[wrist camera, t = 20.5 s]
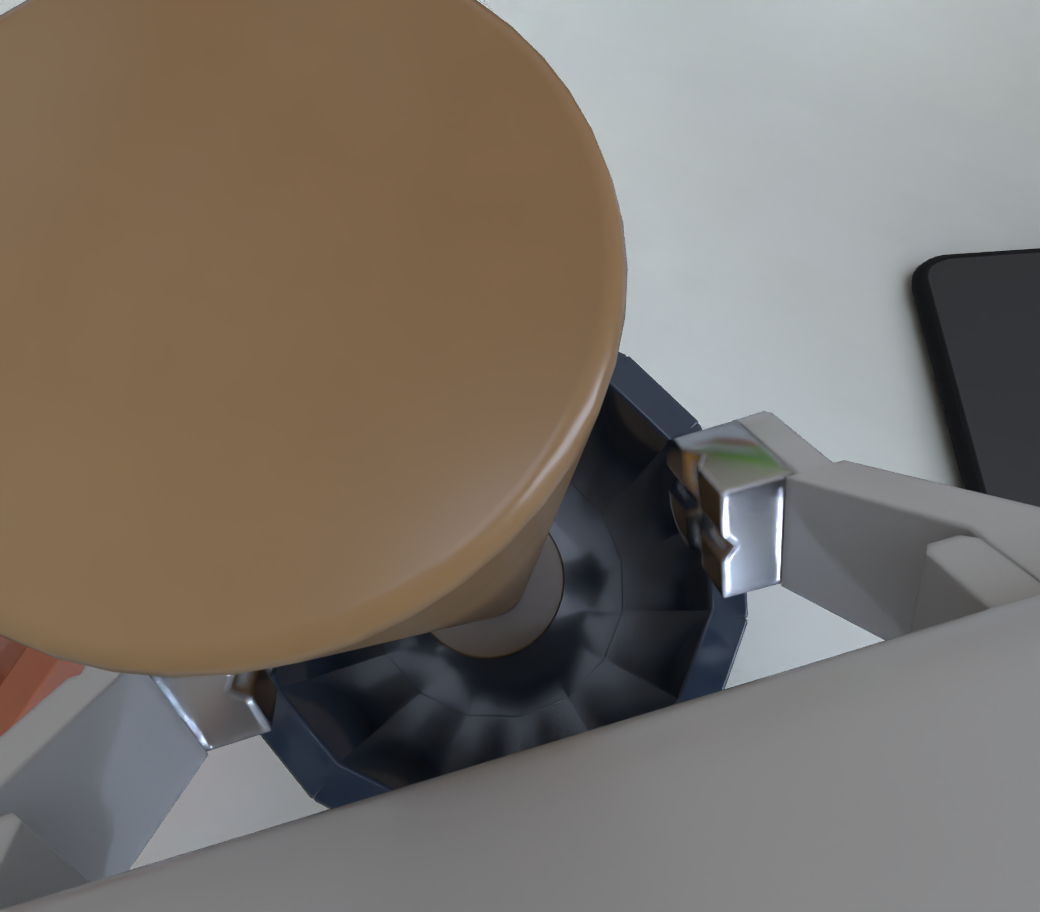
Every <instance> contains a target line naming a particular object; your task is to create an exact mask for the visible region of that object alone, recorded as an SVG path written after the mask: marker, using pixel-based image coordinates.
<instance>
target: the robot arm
mask: <svg viewBox="0 0 1040 912" xmlns="http://www.w3.org/2000/svg"><path fill="white" fill-rule="evenodd" d="M666 459H667V465H668V467H669V468H670V469H671V471H672V472H673V473H674V475H675V476H676V478H675V479H674V481H673V483H672V485H671V486H670V488H669V496H670V505H671V510H672V513H673V517H674V521H675V524H676V526H677V528H678V531H679V533H680V535H681V537H682V538H683V540H684V541H685V543H686V544H687V546H688V547H689V548H691V549H693V550H696V551H698V552H700V553H701V558H702V568H703V569H704V571H705V572H706V574H707V575H708V577H709V578H710V580H711V581H712V582H713V584H714V585H715V587H716V588H717V590H718V591H719V592H720V594H721V595H722V597H723V598H726V597H730V596H734V595H738V594H742V593H745V592H749V591H753V590H757V589H761V588H764V587H768V586H772V585H776V584H780V583H782V586H783V587H785V588H787V589H789V590H790V591H792V592H794V593H796V594H798V595H800V596H802V597H804V598H806V599H808V600H810V601H811V602H813V603H815V604H817V605H819V606H821V607H823V608H825V609H827V610H829V611H830V612H832V613H834V614H836V615H838V616H840V617H842V618H844V619H846V620H848V621H849V622H851V623H853V624H855V625H857V626H859V627H861V628H863V629H865V630H867V631H869V632H870V633H872V634H874V635H876V636H878V637H880V638H882V639H884V640H886V641H882V642H879V643H876V644H873V645H869V646H866V647H863V648H860V649H856V650H853V651H850V652H846V653H843V654H840V655H837V656H833V657H830V658H827V659H824V660H820V661H817V662H814V663H810V664H807V665H804V666H800V667H797V668H794V669H790V670H787V671H784V672H781V673H777V674H774V675H771V676H767V677H764V678H761V679H757V680H754V681H751V682H747V683H744V684H741V685H738V686H734V687H731V688H728V689H724V690H721V691H718V692H714V693H711V694H708V695H704V696H701V697H698V698H695V699H691V700H688V701H685V702H681V703H678V704H675V705H671V706H668V707H665V708H661V709H658V710H655V711H652V712H648V713H645V714H642V715H638V716H635V717H632V718H628V719H625V720H622V721H618V722H615V723H612V724H609V725H605V726H602V727H599V728H595V729H592V730H589V731H586V732H582V733H579V734H576V735H572V736H569V737H566V738H563V739H559V740H556V741H553V742H549V743H546V744H543V745H540V746H536V747H533V748H530V749H526V750H523V751H520V752H517V753H513V754H510V755H507V756H503V757H500V758H497V759H494V760H490V761H487V762H484V763H481V764H477V765H474V766H471V767H467V768H464V769H461V770H458V771H454V772H451V773H448V774H444V775H441V776H438V777H435V778H431V779H428V780H425V781H421V782H418V783H415V784H412V785H408V786H405V787H402V788H398V789H395V790H392V791H389V792H385V793H382V794H379V795H375V796H372V797H369V798H366V799H362V800H359V801H356V802H352V803H349V804H346V805H343V806H339V807H336V808H333V809H329V810H326V811H323V812H320V813H316V814H313V815H310V816H306V817H303V818H300V819H297V820H293V821H290V822H287V823H283V824H280V825H277V826H274V827H270V828H267V829H264V830H260V831H257V832H254V833H251V834H247V835H244V836H241V837H237V838H234V839H231V840H228V841H224V842H221V843H218V844H214V845H211V846H208V847H204V848H201V849H198V850H195V851H191V852H188V853H185V854H181V855H178V856H175V857H172V858H168V859H165V860H162V861H158V862H155V863H152V864H149V865H145V866H142V867H139V868H135V869H132V870H129V869H130V868H131V866H132V865H133V863H134V862H135V860H136V859H137V857H138V856H139V855H140V853H141V852H142V850H143V849H144V847H145V846H146V844H147V843H148V841H149V840H150V839H151V837H152V836H153V834H154V833H155V831H156V830H157V828H158V827H159V825H160V824H161V822H162V821H163V820H164V818H165V817H166V815H167V814H168V812H169V811H170V809H171V808H172V806H173V805H174V804H175V802H176V801H177V799H178V798H179V796H180V795H181V793H182V792H183V790H184V789H185V788H186V786H187V785H188V783H189V782H190V780H191V779H192V777H193V776H194V774H195V773H196V772H197V770H198V769H199V767H200V766H201V764H202V763H203V761H204V760H205V758H206V757H207V755H208V753H207V751H210V750H213V749H216V748H219V747H222V746H225V745H229V744H232V743H235V742H238V741H241V740H244V739H247V738H250V737H253V736H256V735H260V734H263V733H266V732H269V731H271V729H272V723H273V717H274V711H275V705H276V698H277V692H278V689H277V687H276V686H275V684H274V682H273V681H272V679H271V677H272V675H273V674H274V673H275V672H276V671H277V669H278V668H279V667H280V666H279V667H273V668H268V669H262V670H257V671H252V672H246V673H241V674H235V675H216V676H196V677H175V678H173V677H162V676H151V675H139V674H128V673H117V672H111V671H107V670H102V669H98V668H94V667H90V666H86V665H85V667H84V669H83V671H82V673H81V675H77V676H74V677H70V678H68V679H66V680H65V681H64V682H63V683H62V684H61V685H60V686H58V687H57V688H56V689H55V690H54V691H53V692H51V693H50V694H49V695H48V696H47V697H46V698H45V699H43V700H42V701H41V702H40V703H39V704H38V705H36V706H35V707H34V708H33V709H32V710H31V711H29V712H28V713H27V714H26V715H25V716H24V717H23V718H21V719H20V720H19V721H18V722H17V723H16V724H14V725H13V726H12V727H11V728H10V729H9V730H8V731H6V732H5V733H4V734H3V735H2V736H1V737H0V912H1040V507H1037V506H1033V505H1029V504H1024V503H1020V502H1016V501H1012V500H1008V499H1004V498H999V497H995V496H991V495H987V494H983V493H978V492H974V491H970V490H966V489H962V488H958V487H953V486H949V485H945V484H941V483H937V482H932V481H928V480H924V479H920V478H916V477H911V476H907V475H903V474H899V473H895V472H891V471H886V470H882V469H878V468H874V467H870V466H865V465H861V464H857V463H853V462H849V461H840V462H836V463H833V462H832V461H830V460H829V459H828V458H827V457H825V456H824V455H823V454H822V453H821V452H819V451H818V450H817V449H816V448H814V447H813V446H812V445H811V444H809V443H808V442H807V441H806V440H805V439H803V438H802V437H801V436H800V435H798V434H797V433H796V432H795V431H793V430H792V429H791V428H790V427H789V426H787V425H786V424H785V423H784V422H782V421H781V420H780V419H779V418H777V417H776V416H775V415H774V414H772V413H771V412H766V411H762V412H759V413H756V414H753V415H749V416H746V417H743V418H740V419H736V420H733V421H732V422H728V423H725V424H721V425H718V426H715V427H711V428H708V429H704V430H701V431H697V432H694V433H691V434H687V435H684V436H680V437H677V438H674V439H670V440H667V447H666Z"/></svg>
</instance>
